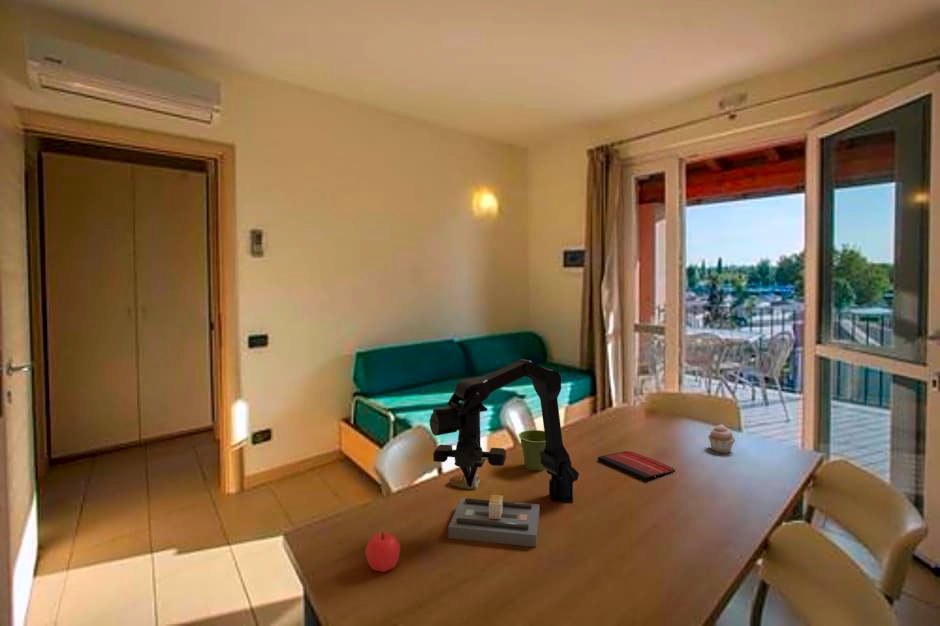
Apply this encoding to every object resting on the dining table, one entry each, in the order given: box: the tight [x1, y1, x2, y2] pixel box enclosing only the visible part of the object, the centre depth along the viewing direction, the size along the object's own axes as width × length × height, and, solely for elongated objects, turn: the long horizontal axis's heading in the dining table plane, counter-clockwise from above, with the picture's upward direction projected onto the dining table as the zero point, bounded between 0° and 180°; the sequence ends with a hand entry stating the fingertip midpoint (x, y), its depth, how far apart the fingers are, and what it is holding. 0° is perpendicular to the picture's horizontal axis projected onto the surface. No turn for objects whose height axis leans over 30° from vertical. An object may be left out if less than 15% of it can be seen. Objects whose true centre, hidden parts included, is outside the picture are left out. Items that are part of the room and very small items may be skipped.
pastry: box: [448, 472, 481, 490], centre depth 154 cm, size 9×7×4 cm
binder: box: [597, 450, 676, 483], centre depth 168 cm, size 16×2×21 cm
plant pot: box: [518, 429, 546, 472], centre depth 167 cm, size 12×12×11 cm
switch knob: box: [489, 494, 504, 519], centre depth 129 cm, size 3×5×4 cm, turn 169°
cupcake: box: [707, 423, 736, 454], centre depth 181 cm, size 9×9×10 cm
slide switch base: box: [447, 497, 541, 548], centre depth 129 cm, size 22×16×4 cm
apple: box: [364, 531, 401, 573], centre depth 112 cm, size 8×8×8 cm
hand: (470, 486), depth 130 cm, fingers closed
